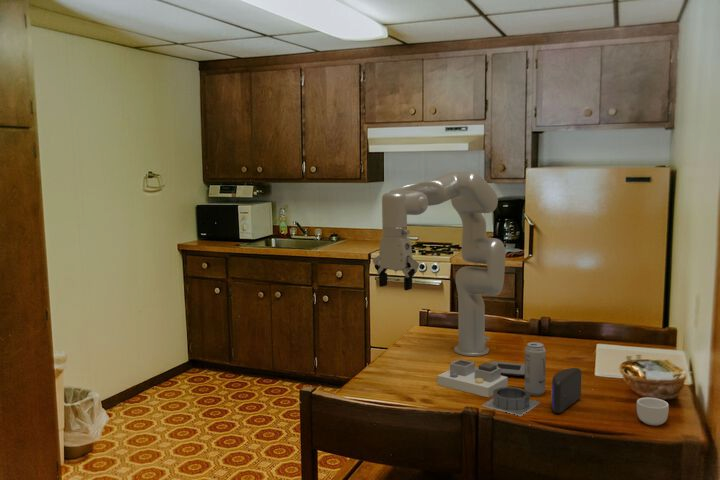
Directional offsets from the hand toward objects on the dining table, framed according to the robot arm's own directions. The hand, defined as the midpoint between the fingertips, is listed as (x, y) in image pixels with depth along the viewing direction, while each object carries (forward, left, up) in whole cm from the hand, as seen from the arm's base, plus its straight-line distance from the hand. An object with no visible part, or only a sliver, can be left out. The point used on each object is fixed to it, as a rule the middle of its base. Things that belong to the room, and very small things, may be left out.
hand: (395, 287), depth 197 cm
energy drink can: (-20, +37, -31) cm, 52 cm away
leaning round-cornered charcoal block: (-16, +49, -32) cm, 60 cm away
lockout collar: (-7, +36, -31) cm, 48 cm away
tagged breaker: (-16, +23, -27) cm, 39 cm away
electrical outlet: (-32, +22, -32) cm, 50 cm away
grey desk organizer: (-14, +19, -31) cm, 39 cm away
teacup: (-20, +71, -32) cm, 80 cm away
